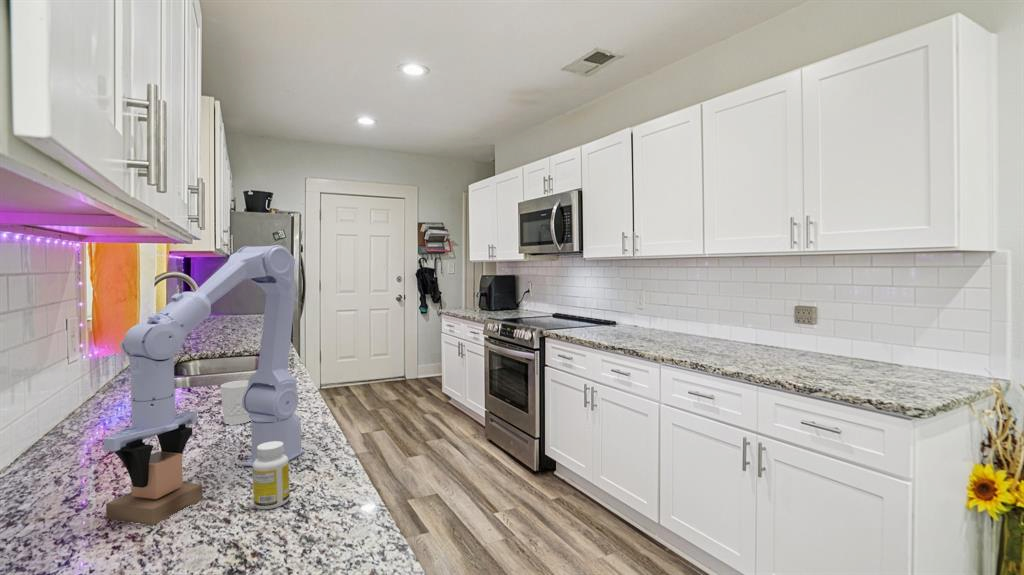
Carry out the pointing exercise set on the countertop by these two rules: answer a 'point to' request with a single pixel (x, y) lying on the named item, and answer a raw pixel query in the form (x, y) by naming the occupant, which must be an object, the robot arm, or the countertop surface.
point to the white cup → (234, 402)
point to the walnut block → (153, 505)
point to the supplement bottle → (270, 476)
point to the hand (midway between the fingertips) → (155, 479)
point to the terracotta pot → (161, 475)
